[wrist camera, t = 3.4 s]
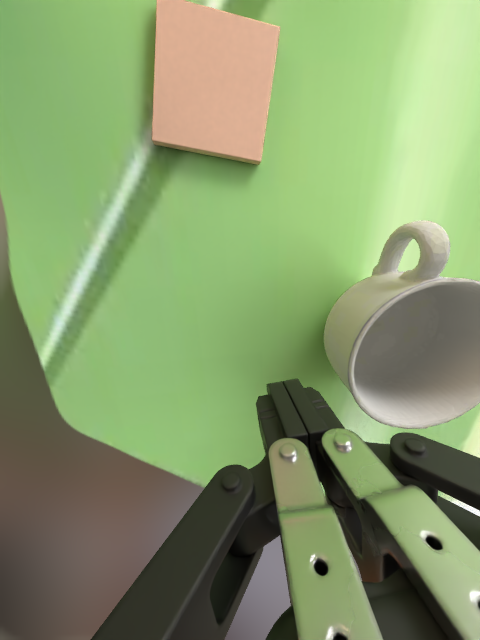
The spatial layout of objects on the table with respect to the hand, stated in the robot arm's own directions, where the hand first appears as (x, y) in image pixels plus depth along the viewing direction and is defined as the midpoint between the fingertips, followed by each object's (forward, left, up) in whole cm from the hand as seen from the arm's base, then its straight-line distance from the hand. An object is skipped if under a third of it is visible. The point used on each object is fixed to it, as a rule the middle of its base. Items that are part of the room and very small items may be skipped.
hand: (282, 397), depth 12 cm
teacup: (+9, +5, -11) cm, 15 cm away
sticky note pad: (-9, +15, -11) cm, 20 cm away
